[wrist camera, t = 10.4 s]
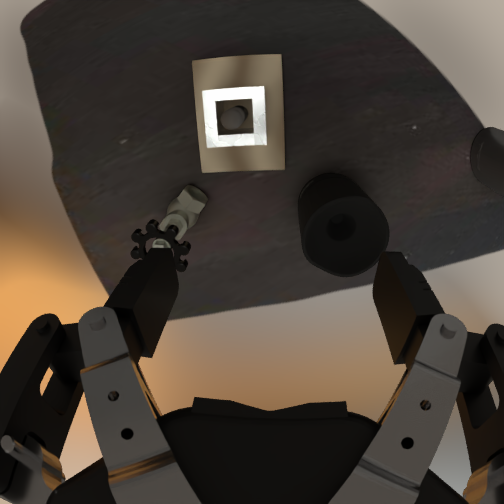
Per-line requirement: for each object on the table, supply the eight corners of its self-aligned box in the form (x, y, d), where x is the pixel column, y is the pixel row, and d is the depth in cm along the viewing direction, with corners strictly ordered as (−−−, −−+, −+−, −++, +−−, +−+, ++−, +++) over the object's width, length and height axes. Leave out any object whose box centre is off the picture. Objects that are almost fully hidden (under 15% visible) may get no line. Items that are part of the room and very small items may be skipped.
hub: (265, 87, 29) (264, 86, 25) (267, 137, 32) (266, 144, 28) (211, 90, 30) (202, 90, 25) (215, 139, 33) (207, 147, 28)
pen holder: (355, 160, 34) (381, 186, 26) (369, 224, 39) (393, 264, 30) (285, 181, 36) (289, 212, 28) (305, 243, 41) (314, 287, 32)
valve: (156, 210, 39) (119, 256, 29) (180, 174, 37) (145, 210, 26) (194, 236, 41) (170, 289, 31) (220, 202, 38) (201, 249, 28)
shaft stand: (280, 55, 28) (284, 43, 20) (284, 166, 35) (288, 192, 27) (195, 62, 29) (169, 53, 21) (204, 169, 36) (184, 195, 28)
